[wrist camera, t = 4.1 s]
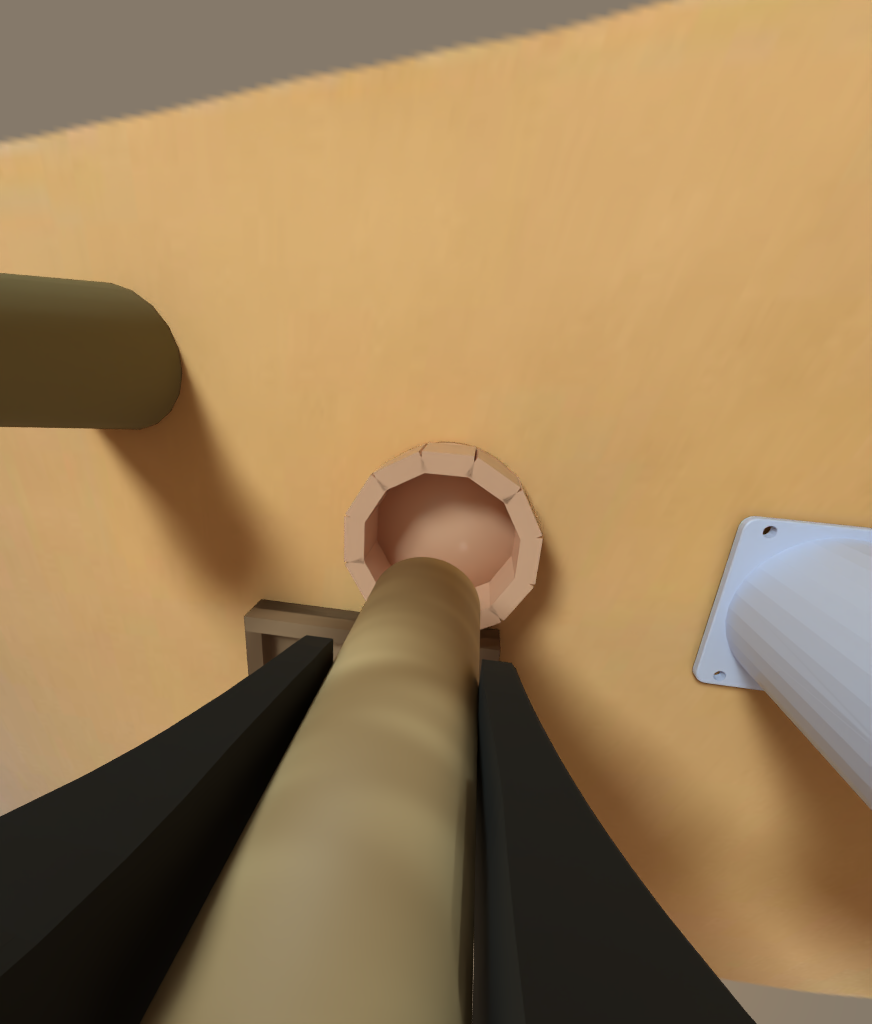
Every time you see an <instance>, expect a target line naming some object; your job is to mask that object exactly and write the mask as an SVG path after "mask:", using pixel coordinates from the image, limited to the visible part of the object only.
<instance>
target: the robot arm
mask: <svg viewBox="0 0 872 1024" xmlns="http://www.w3.org/2000/svg"><path fill="white" fill-rule="evenodd" d="M768 526H771V530H770V531H769V532H768V533H767V534H763V530H764V529H765V528H766V527H768ZM332 664H333V639H332V638H325V637H317V636H310V635H306V636H304V637H303V638H301V639H300V640H298V641H297V642H295V643H294V644H293V645H291V646H290V647H288V648H287V649H286V650H284V651H283V652H281V653H280V654H279V655H277V656H276V657H274V658H273V659H272V660H270V661H269V662H268V663H266V664H265V665H263V666H262V667H261V668H259V669H258V670H256V671H255V672H253V673H252V674H251V675H249V676H248V677H246V678H245V679H243V680H242V681H240V682H239V683H238V684H236V685H235V686H233V687H232V688H230V689H229V690H227V691H226V692H225V693H223V694H222V695H220V696H218V697H217V698H215V699H214V700H212V701H211V702H209V703H207V704H206V705H204V706H203V707H201V708H200V709H198V710H196V711H195V712H193V713H192V714H190V715H189V716H187V717H186V718H184V719H182V720H181V721H179V722H178V723H176V724H175V725H173V726H171V727H170V728H168V729H167V730H165V731H163V732H162V733H160V734H158V735H157V736H155V737H153V738H151V739H150V740H148V741H146V742H144V743H143V744H141V745H139V746H138V747H136V748H134V749H132V750H130V751H129V752H127V753H125V754H123V755H121V756H119V757H118V758H116V759H114V760H112V761H110V762H108V763H107V764H105V765H103V766H101V767H99V768H97V769H96V770H94V771H92V772H90V773H88V774H86V775H84V776H82V777H80V778H78V779H76V780H74V781H72V782H70V783H68V784H66V785H64V786H62V787H60V788H58V789H56V790H54V791H52V792H50V793H48V794H46V795H44V796H41V797H39V798H37V799H35V800H33V801H31V802H29V803H27V804H25V805H23V806H21V807H19V808H17V809H15V810H13V811H11V812H9V813H7V814H5V815H2V816H0V1024H140V1022H141V1020H142V1018H143V1016H144V1014H145V1013H146V1011H147V1009H148V1007H149V1005H150V1003H151V1001H152V1000H153V998H154V996H155V994H156V992H157V990H158V988H159V986H160V985H161V983H162V981H163V979H164V977H165V975H166V973H167V972H168V970H169V968H170V966H171V964H172V962H173V960H174V959H175V957H176V955H177V953H178V951H179V949H180V947H181V945H182V944H183V942H184V940H185V938H186V936H187V934H188V932H189V931H190V929H191V927H192V925H193V923H194V921H195V919H196V918H197V916H198V914H199V912H200V910H201V908H202V906H203V904H204V903H205V901H206V899H207V897H208V895H209V893H210V891H211V890H212V888H213V886H214V884H215V882H216V880H217V878H218V876H219V875H220V873H221V871H222V869H223V867H224V865H225V863H226V862H227V860H228V858H229V856H230V854H231V852H232V850H233V849H234V847H235V845H236V843H237V841H238V839H239V837H240V835H241V834H242V832H243V830H244V828H245V826H246V824H247V822H248V821H249V819H250V817H251V815H252V813H253V811H254V809H255V808H256V806H257V804H258V802H259V800H260V798H261V796H262V794H263V793H264V791H265V789H266V787H267V785H268V783H269V781H270V780H271V778H272V776H273V774H274V772H275V770H276V768H277V766H278V765H279V763H280V761H281V759H282V757H283V755H284V753H285V752H286V750H287V748H288V746H289V744H290V742H291V740H292V739H293V737H294V735H295V733H296V731H297V729H298V727H299V725H300V724H301V722H302V720H303V718H304V716H305V714H306V712H307V711H308V709H309V707H310V705H311V703H312V701H313V699H314V697H315V696H316V694H317V692H318V690H319V688H320V686H321V684H322V683H323V681H324V679H325V677H326V675H327V673H328V671H329V670H330V668H331V666H332ZM718 671H721V672H720V673H719V674H717V675H714V674H715V673H716V672H718ZM693 673H694V675H695V677H696V678H697V679H698V680H699V681H700V682H704V683H710V684H718V685H725V686H732V687H740V688H747V689H755V690H762V691H765V692H766V693H767V694H768V695H769V696H770V698H771V699H772V700H773V701H774V702H775V703H776V704H777V705H778V707H779V708H780V709H781V710H782V711H783V712H784V713H785V714H786V715H787V717H788V718H789V719H790V720H791V721H792V722H793V723H794V724H795V725H796V727H797V728H798V729H799V730H800V731H801V732H802V733H803V734H804V736H805V737H806V738H807V739H808V740H809V741H810V742H811V743H812V744H813V746H814V747H815V748H816V749H817V750H818V751H819V752H820V753H821V754H822V756H823V757H824V758H825V759H826V760H827V761H828V762H829V763H830V764H831V766H832V767H833V768H834V769H835V770H836V771H837V772H838V773H839V775H840V776H841V777H842V778H843V779H844V780H845V781H846V782H847V783H848V785H849V786H850V787H851V788H852V789H853V790H854V791H855V792H856V793H857V795H858V796H859V797H860V798H861V799H862V800H863V801H864V802H865V803H866V805H867V806H868V807H869V808H870V809H871V810H872V528H866V527H857V526H847V525H837V524H827V523H817V522H808V521H798V520H788V519H778V518H769V517H759V516H751V517H748V518H745V519H744V520H743V521H742V522H741V523H740V525H739V527H738V530H737V533H736V536H735V539H734V543H733V546H732V549H731V552H730V555H729V558H728V561H727V564H726V567H725V570H724V573H723V577H722V580H721V583H720V586H719V589H718V592H717V595H716V598H715V601H714V604H713V607H712V611H711V614H710V617H709V620H708V623H707V626H706V629H705V632H704V635H703V638H702V641H701V644H700V648H699V651H698V654H697V657H696V660H695V663H694V666H693ZM472 1024H756V1023H755V1021H754V1020H753V1019H752V1018H751V1017H750V1016H749V1015H748V1014H747V1012H746V1011H745V1010H744V1009H743V1007H742V1006H741V1005H740V1004H739V1002H738V1001H737V1000H736V999H735V998H734V996H733V995H732V994H731V993H730V991H729V990H728V989H727V988H726V987H725V985H724V984H723V983H722V982H721V980H720V979H719V978H718V977H717V976H716V974H715V973H714V972H713V971H712V969H711V968H710V967H709V966H708V964H707V963H706V962H705V961H704V960H703V958H702V957H701V956H700V955H699V953H698V952H697V951H696V950H695V949H694V947H693V946H692V945H691V944H690V942H689V941H688V940H687V939H686V938H685V936H684V935H683V934H682V933H681V931H680V930H679V929H678V928H677V927H676V925H675V924H674V923H673V922H672V920H671V919H670V918H669V917H668V915H667V914H666V913H665V912H664V910H663V909H662V908H661V906H660V905H659V904H658V902H657V901H656V900H655V898H654V897H653V896H652V894H651V893H650V892H649V890H648V889H647V888H646V886H645V885H644V884H643V882H642V881H641V880H640V878H639V877H638V876H637V874H636V873H635V872H634V870H633V869H632V868H631V866H630V865H629V863H628V862H627V861H626V859H625V858H624V856H623V855H622V853H621V852H620V851H619V849H618V848H617V846H616V845H615V844H614V842H613V841H612V839H611V838H610V837H609V835H608V834H607V832H606V831H605V829H604V828H603V826H602V825H601V823H600V822H599V820H598V819H597V817H596V816H595V814H594V813H593V811H592V810H591V808H590V807H589V805H588V803H587V802H586V800H585V799H584V797H583V796H582V794H581V792H580V791H579V789H578V787H577V786H576V784H575V783H574V781H573V779H572V778H571V776H570V775H569V773H568V771H567V769H566V768H565V766H564V764H563V763H562V761H561V759H560V758H559V756H558V754H557V752H556V750H555V748H554V747H553V745H552V743H551V741H550V739H549V738H548V736H547V734H546V732H545V730H544V729H543V727H542V725H541V723H540V721H539V719H538V717H537V715H536V713H535V711H534V709H533V707H532V705H531V703H530V701H529V699H528V696H527V694H526V692H525V690H524V688H523V685H522V683H521V681H520V678H519V676H518V673H517V671H516V668H515V667H514V666H513V664H512V663H508V662H500V661H493V660H486V659H482V664H481V671H480V679H479V686H478V752H477V800H476V849H475V897H474V980H473V1010H472Z"/></svg>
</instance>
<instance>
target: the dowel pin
mask: <svg viewBox="0 0 872 1024" xmlns="http://www.w3.org/2000/svg"><path fill="white" fill-rule="evenodd" d="M479 655H480V600H479V596H478V593H477V591H476V589H475V587H474V585H473V583H472V582H471V581H470V579H469V578H468V577H467V576H466V575H465V574H464V573H463V572H462V571H461V570H459V569H458V568H457V567H455V566H453V565H452V564H450V563H448V562H445V561H443V560H439V559H436V558H430V557H414V558H408V559H405V560H402V561H399V562H397V563H395V564H393V565H392V566H390V567H389V568H388V569H387V570H386V571H384V572H383V574H382V575H381V576H380V577H379V579H378V580H377V582H376V584H375V586H374V587H373V589H372V591H371V593H370V595H369V597H368V599H367V601H366V602H365V604H364V606H363V608H362V610H361V612H360V614H359V615H358V617H357V619H356V621H355V623H354V625H353V627H352V629H351V630H350V632H349V634H348V636H347V638H346V640H345V642H344V643H343V645H342V647H341V649H340V651H339V653H338V655H337V656H336V658H335V660H334V662H333V664H332V666H331V668H330V670H329V671H328V673H327V675H326V677H325V679H324V681H323V683H322V684H321V686H320V688H319V690H318V692H317V694H316V696H315V697H314V699H313V701H312V703H311V705H310V707H309V709H308V711H307V712H306V714H305V716H304V718H303V720H302V722H301V724H300V725H299V727H298V729H297V731H296V733H295V735H294V737H293V739H292V740H291V742H290V744H289V746H288V748H287V750H286V752H285V753H284V755H283V757H282V759H281V761H280V763H279V765H278V766H277V768H276V770H275V772H274V774H273V776H272V778H271V780H270V781H269V783H268V785H267V787H266V789H265V791H264V793H263V794H262V796H261V798H260V800H259V802H258V804H257V806H256V808H255V809H254V811H253V813H252V815H251V817H250V819H249V821H248V822H247V824H246V826H245V828H244V830H243V832H242V834H241V835H240V837H239V839H238V841H237V843H236V845H235V847H234V849H233V850H232V852H231V854H230V856H229V858H228V860H227V862H226V863H225V865H224V867H223V869H222V871H221V873H220V875H219V876H218V878H217V880H216V882H215V884H214V886H213V888H212V890H211V891H210V893H209V895H208V897H207V899H206V901H205V903H204V904H203V906H202V908H201V910H200V912H199V914H198V916H197V918H196V919H195V921H194V923H193V925H192V927H191V929H190V931H189V932H188V934H187V936H186V938H185V940H184V942H183V944H182V945H181V947H180V949H179V951H178V953H177V955H176V957H175V959H174V960H173V962H172V964H171V966H170V968H169V970H168V972H167V973H166V975H165V977H164V979H163V981H162V983H161V985H160V986H159V988H158V990H157V992H156V994H155V996H154V998H153V1000H152V1001H151V1003H150V1005H149V1007H148V1009H147V1011H146V1013H145V1014H144V1016H143V1018H142V1020H141V1022H140V1024H472V993H473V991H472V990H473V945H474V897H475V849H476V800H477V752H478V686H479Z"/></svg>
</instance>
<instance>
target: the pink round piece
mask: <svg viewBox="0 0 872 1024" xmlns="http://www.w3.org/2000/svg"><path fill="white" fill-rule="evenodd" d="M542 541H543V538H542V533H541V530H540V528H539V525H538V522H537V520H536V517H535V515H534V512H533V510H532V508H531V505H530V503H529V501H528V498H527V496H526V493H525V491H524V489H523V487H522V484H521V482H520V480H519V477H517V475H516V474H515V473H514V472H512V471H511V470H510V469H509V468H508V467H507V466H506V465H505V464H503V463H502V462H501V461H500V460H499V459H497V458H496V457H494V456H492V455H491V454H489V453H488V452H486V451H483V450H481V449H480V448H477V447H476V446H470V445H467V444H462V443H455V442H436V443H433V442H429V443H428V444H427V443H425V444H423V445H421V446H418V447H415V448H412V449H410V450H408V451H406V452H404V453H402V454H400V455H399V456H397V457H395V458H393V459H391V460H389V461H387V462H385V463H384V464H383V465H382V466H381V467H379V468H378V469H377V470H376V471H375V472H373V473H372V474H371V475H370V477H369V478H368V480H367V481H366V483H365V484H364V486H363V487H362V489H361V491H360V492H359V494H358V495H357V497H356V498H355V500H354V501H353V503H352V505H351V506H350V508H349V509H348V511H347V512H346V516H345V522H344V562H346V564H345V565H346V567H347V569H348V571H349V572H350V574H351V576H352V578H353V579H354V581H355V583H356V585H357V587H358V588H359V590H360V592H361V594H362V595H363V597H364V599H365V601H367V599H368V597H369V595H370V593H371V591H372V589H373V587H374V586H375V584H376V582H377V580H378V579H379V577H380V576H381V575H382V574H383V572H384V571H386V570H387V569H388V568H389V567H390V566H392V565H393V564H395V563H397V562H399V561H402V560H405V559H408V558H414V557H430V558H436V559H439V560H443V561H445V562H448V563H450V564H452V565H453V566H455V567H457V568H458V569H459V570H461V571H462V572H463V573H464V574H465V575H466V576H467V577H468V578H469V579H470V581H471V582H472V583H473V585H474V587H475V589H476V591H477V593H478V596H479V600H480V630H481V629H484V628H487V627H489V626H492V625H495V624H498V623H501V619H502V620H503V621H504V620H505V619H506V618H507V617H508V615H509V614H510V613H511V612H512V611H513V610H514V609H515V608H516V607H517V605H518V604H519V603H520V602H521V601H522V600H523V599H524V598H525V596H526V595H527V594H528V593H529V592H530V591H531V590H532V589H533V587H534V586H533V584H535V582H536V576H537V570H538V564H539V559H540V553H541V547H542Z"/></svg>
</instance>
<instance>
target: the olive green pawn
mask: <svg viewBox="0 0 872 1024" xmlns="http://www.w3.org/2000/svg"><path fill="white" fill-rule="evenodd" d="M181 376H182V369H181V363H180V357H179V351H178V347H177V345H176V343H175V340H174V338H173V336H172V334H171V331H170V329H169V327H168V325H167V324H166V323H165V321H164V320H163V319H162V317H161V316H160V315H159V314H158V312H157V311H156V310H155V309H154V307H153V306H152V305H151V304H149V303H148V302H147V301H145V300H144V299H143V298H141V297H140V296H139V295H137V294H136V293H135V292H133V291H132V290H129V289H126V288H123V287H121V286H118V285H115V284H112V283H106V282H94V281H83V280H72V279H61V278H50V277H39V276H28V275H16V274H5V273H0V427H41V428H96V429H142V428H145V427H148V426H151V425H154V424H157V423H158V422H159V421H160V420H161V419H163V418H164V417H165V416H166V415H167V414H168V413H169V412H170V411H171V410H172V407H173V405H174V403H175V401H176V399H177V397H178V395H179V392H180V384H181Z"/></svg>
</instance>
